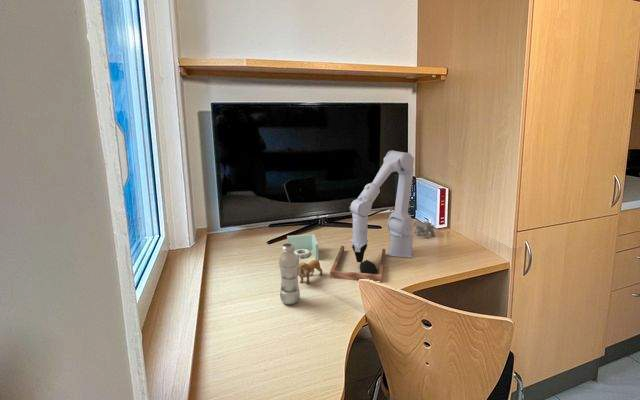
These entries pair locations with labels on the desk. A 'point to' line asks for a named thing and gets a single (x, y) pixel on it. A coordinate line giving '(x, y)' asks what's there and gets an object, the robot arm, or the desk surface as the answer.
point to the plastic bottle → (289, 275)
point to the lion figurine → (308, 270)
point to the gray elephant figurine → (424, 228)
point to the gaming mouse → (368, 267)
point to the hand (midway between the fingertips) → (359, 261)
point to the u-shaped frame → (353, 274)
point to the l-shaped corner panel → (304, 245)
